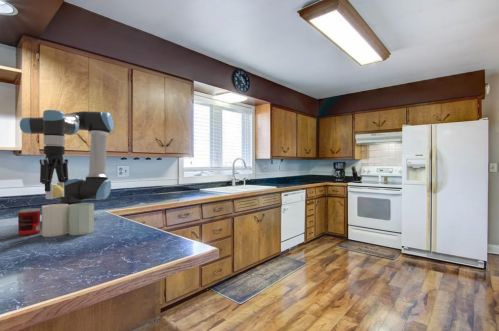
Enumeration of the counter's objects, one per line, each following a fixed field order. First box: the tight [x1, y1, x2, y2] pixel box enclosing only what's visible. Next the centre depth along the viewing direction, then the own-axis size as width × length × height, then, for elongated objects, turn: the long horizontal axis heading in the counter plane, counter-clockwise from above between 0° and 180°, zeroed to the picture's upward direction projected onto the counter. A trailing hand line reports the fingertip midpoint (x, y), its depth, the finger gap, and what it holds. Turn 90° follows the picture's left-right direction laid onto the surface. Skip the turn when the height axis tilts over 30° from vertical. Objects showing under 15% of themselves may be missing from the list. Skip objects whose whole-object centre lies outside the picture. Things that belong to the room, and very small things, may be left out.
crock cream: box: [41, 203, 69, 238], centre depth 120 cm, size 10×10×13 cm
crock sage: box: [67, 202, 95, 236], centre depth 123 cm, size 10×10×13 cm
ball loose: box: [53, 184, 63, 199], centre depth 118 cm, size 6×6×6 cm
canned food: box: [17, 207, 41, 237], centre depth 121 cm, size 8×8×11 cm
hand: (55, 197), depth 118 cm, fingers closed on ball loose, 6 cm apart
